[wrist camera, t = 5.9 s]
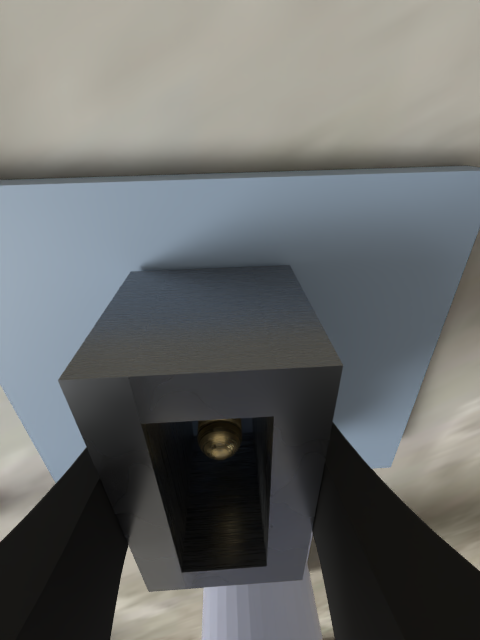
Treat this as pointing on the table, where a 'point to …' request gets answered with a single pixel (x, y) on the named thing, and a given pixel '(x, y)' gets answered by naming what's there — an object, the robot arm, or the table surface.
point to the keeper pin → (219, 437)
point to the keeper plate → (239, 251)
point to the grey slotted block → (208, 404)
